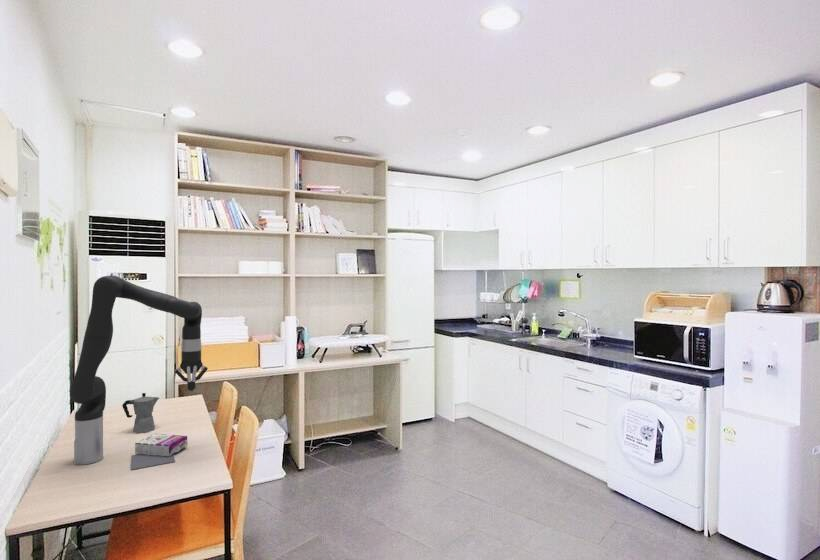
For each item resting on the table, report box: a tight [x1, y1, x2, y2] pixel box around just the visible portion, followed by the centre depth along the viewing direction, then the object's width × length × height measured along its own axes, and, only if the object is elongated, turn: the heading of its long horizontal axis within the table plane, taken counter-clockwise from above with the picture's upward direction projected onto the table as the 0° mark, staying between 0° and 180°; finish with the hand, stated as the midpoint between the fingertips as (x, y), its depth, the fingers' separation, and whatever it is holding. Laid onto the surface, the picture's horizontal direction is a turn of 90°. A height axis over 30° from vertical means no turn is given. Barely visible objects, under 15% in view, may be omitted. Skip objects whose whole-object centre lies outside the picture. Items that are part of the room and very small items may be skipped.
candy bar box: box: [134, 433, 188, 457], centre depth 190 cm, size 11×5×16 cm
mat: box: [130, 454, 176, 471], centre depth 182 cm, size 15×16×1 cm
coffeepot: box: [122, 392, 160, 434], centre depth 216 cm, size 15×9×18 cm, turn 129°
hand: (191, 390), depth 189 cm, fingers closed
